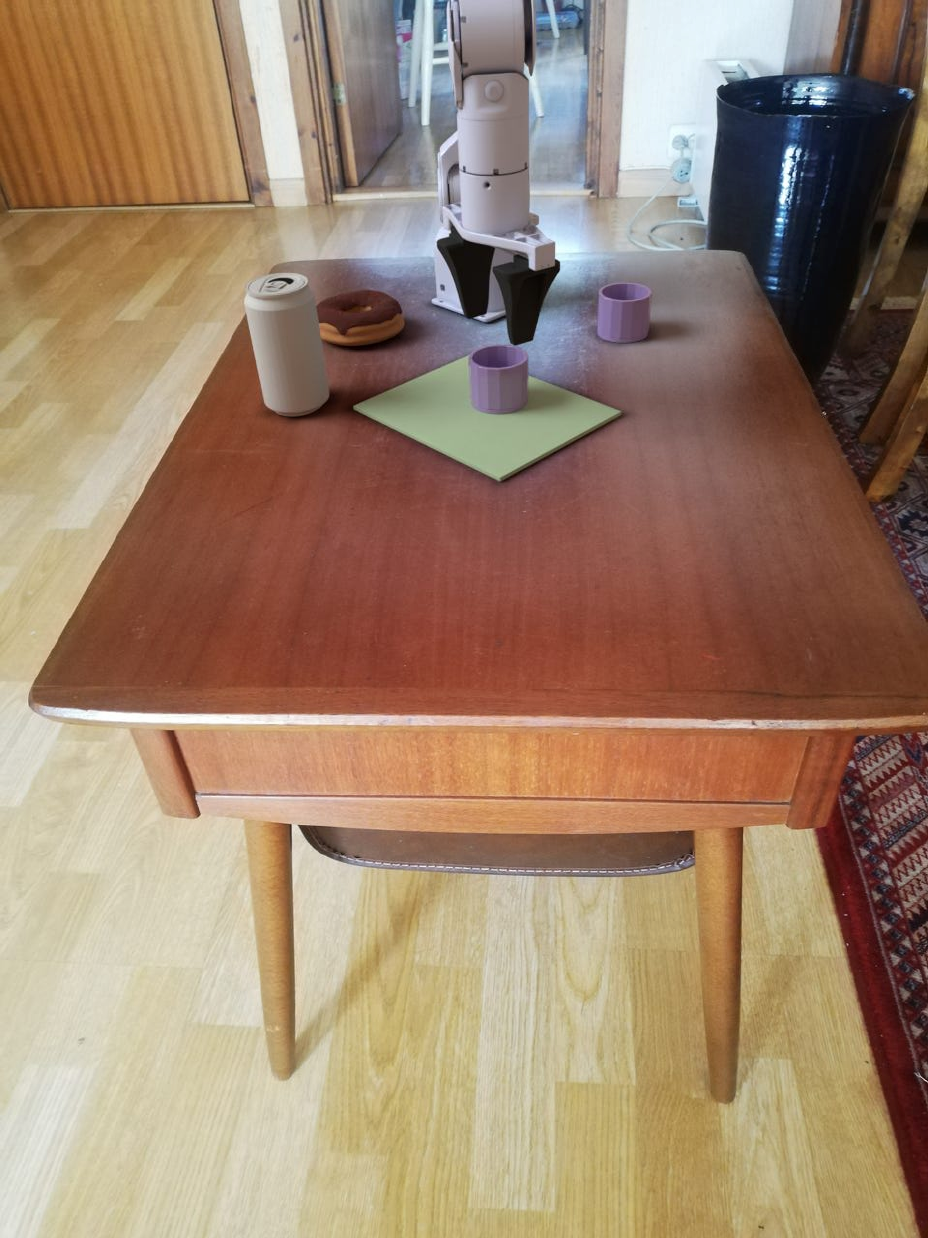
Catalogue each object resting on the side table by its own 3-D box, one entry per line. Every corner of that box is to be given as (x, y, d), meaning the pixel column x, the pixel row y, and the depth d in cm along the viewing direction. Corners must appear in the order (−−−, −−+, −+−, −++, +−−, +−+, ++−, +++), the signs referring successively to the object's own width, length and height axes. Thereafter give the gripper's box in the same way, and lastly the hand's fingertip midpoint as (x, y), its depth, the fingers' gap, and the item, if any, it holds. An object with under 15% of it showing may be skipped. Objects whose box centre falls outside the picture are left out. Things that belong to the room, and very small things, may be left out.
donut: (400, 313, 108) (397, 278, 105) (409, 346, 100) (406, 310, 98) (314, 322, 107) (308, 287, 105) (316, 356, 100) (311, 320, 97)
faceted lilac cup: (586, 333, 101) (588, 292, 98) (618, 318, 104) (621, 278, 101) (626, 347, 98) (629, 305, 95) (658, 331, 100) (662, 290, 98)
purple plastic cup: (475, 387, 91) (474, 343, 88) (531, 389, 90) (531, 345, 87) (466, 413, 87) (463, 368, 84) (524, 415, 86) (523, 370, 83)
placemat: (353, 409, 89) (353, 405, 89) (472, 356, 98) (472, 353, 97) (500, 481, 78) (499, 477, 78) (621, 415, 86) (621, 411, 86)
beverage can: (341, 393, 92) (324, 272, 85) (312, 423, 88) (291, 297, 80) (284, 387, 94) (262, 267, 86) (253, 415, 89) (227, 292, 82)
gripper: (588, 175, 72) (582, 342, 81) (487, 142, 82) (491, 295, 90) (513, 192, 69) (515, 363, 78) (417, 156, 79) (429, 312, 88)
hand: (498, 328), depth 84 cm, fingers open, 7 cm apart
